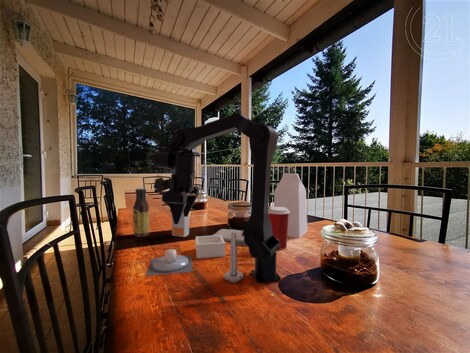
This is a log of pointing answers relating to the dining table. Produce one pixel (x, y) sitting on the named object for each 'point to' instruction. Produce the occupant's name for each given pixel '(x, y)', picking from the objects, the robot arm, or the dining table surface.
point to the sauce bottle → (141, 214)
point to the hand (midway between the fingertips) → (181, 220)
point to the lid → (170, 262)
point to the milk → (292, 203)
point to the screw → (233, 262)
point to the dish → (210, 246)
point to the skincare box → (181, 227)
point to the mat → (154, 272)
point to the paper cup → (279, 224)
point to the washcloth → (227, 236)
